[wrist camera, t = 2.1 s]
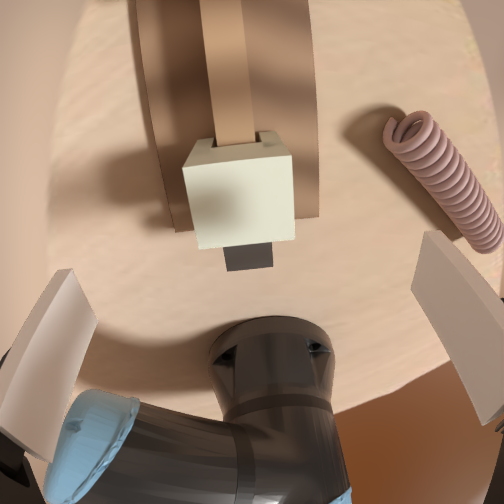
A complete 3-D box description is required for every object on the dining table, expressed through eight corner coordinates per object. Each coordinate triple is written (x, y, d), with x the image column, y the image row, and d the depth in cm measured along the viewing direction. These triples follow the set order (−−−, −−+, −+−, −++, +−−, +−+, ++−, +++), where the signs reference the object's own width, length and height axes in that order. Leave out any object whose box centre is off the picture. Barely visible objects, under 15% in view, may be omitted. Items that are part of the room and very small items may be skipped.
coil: (393, 154, 19) (485, 266, 25) (434, 109, 17) (514, 237, 23) (371, 135, 23) (466, 240, 29) (406, 96, 20) (492, 213, 26)
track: (316, 212, 26) (340, 259, 20) (176, 227, 26) (161, 277, 20) (298, -45, 14) (322, -81, 8) (136, -25, 14) (101, -54, 8)
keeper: (279, 193, 24) (295, 239, 18) (207, 201, 24) (198, 249, 18) (275, 130, 21) (291, 155, 15) (197, 139, 21) (182, 167, 15)
